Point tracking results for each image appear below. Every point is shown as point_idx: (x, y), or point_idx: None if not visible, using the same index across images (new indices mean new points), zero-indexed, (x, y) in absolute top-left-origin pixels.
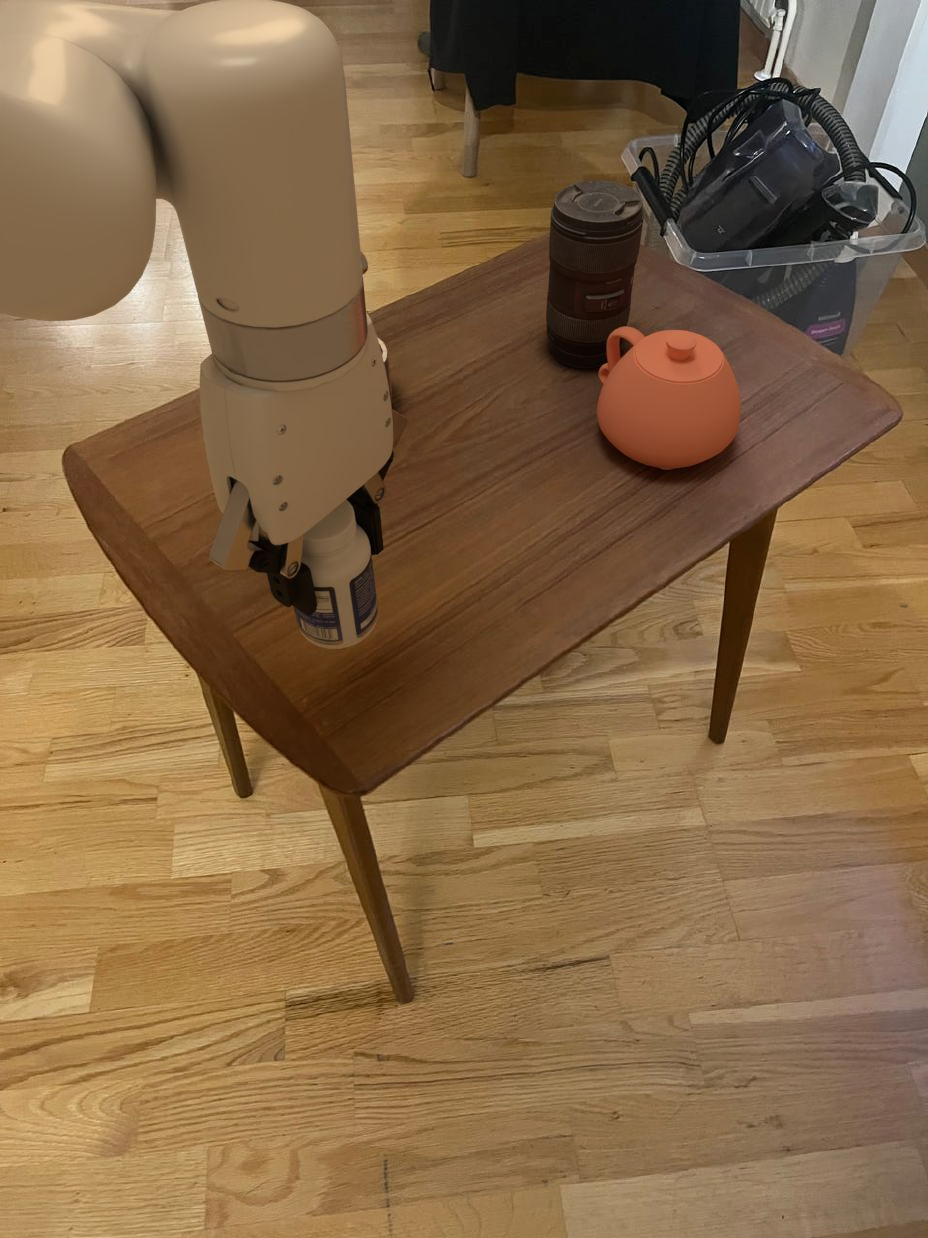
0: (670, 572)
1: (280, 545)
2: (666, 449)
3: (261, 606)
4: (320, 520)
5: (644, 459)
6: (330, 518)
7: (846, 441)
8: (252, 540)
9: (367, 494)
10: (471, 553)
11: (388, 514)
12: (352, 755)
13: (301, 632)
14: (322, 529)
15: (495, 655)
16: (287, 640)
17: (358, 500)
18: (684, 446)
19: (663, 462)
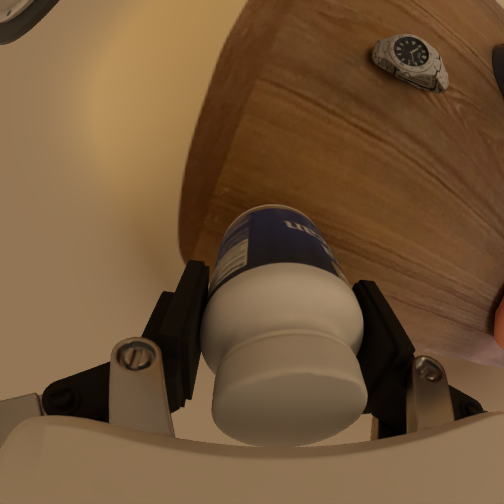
0: (428, 351)
1: (377, 65)
2: (501, 332)
3: (302, 84)
4: (276, 424)
5: (499, 315)
6: (291, 430)
7: (498, 364)
8: (109, 382)
9: (374, 431)
10: (429, 239)
11: (447, 149)
12: (203, 255)
13: (225, 232)
14: (256, 431)
15: None
16: (278, 132)
17: (374, 401)
18: (501, 340)
19: (496, 326)
